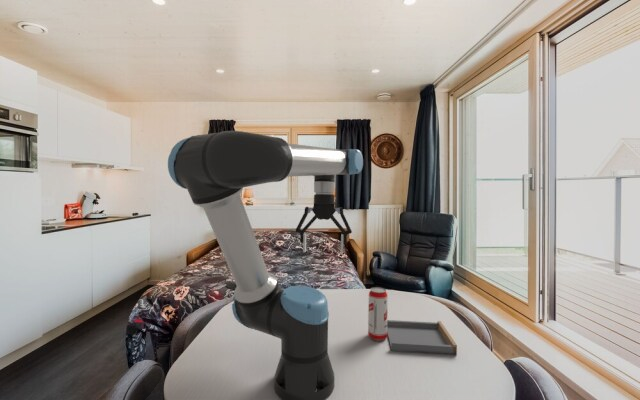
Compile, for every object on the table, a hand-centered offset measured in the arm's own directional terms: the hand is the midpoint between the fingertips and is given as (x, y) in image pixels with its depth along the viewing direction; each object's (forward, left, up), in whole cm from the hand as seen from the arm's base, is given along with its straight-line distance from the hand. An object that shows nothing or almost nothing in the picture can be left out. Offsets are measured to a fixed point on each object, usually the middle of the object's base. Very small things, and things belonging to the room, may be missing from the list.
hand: (323, 252), depth 105 cm
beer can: (-7, -19, -27) cm, 34 cm away
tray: (-7, -32, -26) cm, 42 cm away
